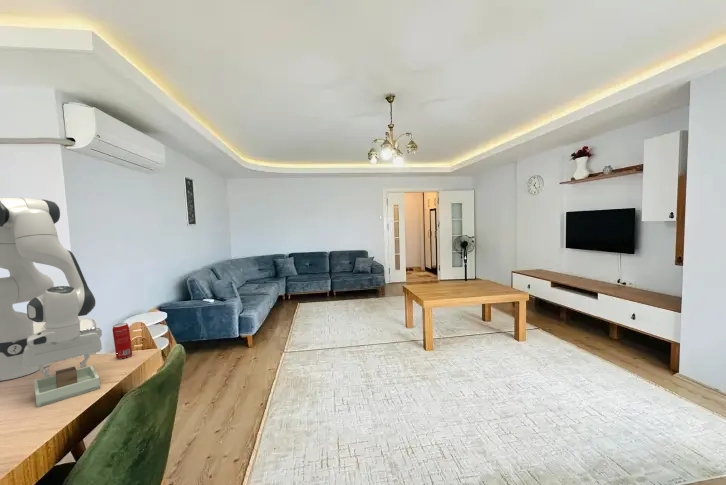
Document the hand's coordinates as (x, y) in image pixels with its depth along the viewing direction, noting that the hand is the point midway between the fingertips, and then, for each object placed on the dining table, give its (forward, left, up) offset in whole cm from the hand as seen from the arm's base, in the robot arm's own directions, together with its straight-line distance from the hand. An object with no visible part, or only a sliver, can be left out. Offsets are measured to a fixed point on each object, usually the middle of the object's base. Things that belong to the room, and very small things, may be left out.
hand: (65, 371), depth 111 cm
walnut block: (0, 0, -6) cm, 6 cm away
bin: (0, 0, -7) cm, 7 cm away
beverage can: (-21, +20, -7) cm, 30 cm away
